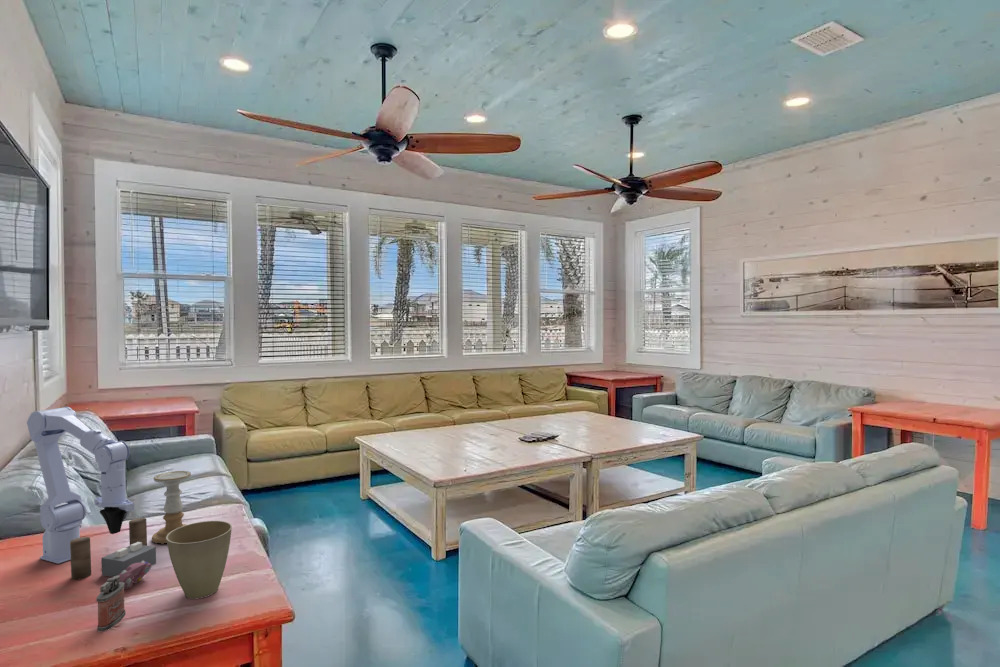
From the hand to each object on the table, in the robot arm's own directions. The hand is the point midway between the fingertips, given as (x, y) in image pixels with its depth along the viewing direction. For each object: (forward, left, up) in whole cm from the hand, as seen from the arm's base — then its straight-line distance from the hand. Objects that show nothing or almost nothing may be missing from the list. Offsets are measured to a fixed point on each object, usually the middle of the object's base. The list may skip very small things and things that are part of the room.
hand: (115, 532), depth 162 cm
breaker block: (+6, 0, -10) cm, 11 cm away
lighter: (+30, -20, -10) cm, 37 cm away
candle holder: (-4, +21, -10) cm, 23 cm away
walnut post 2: (-2, +8, -10) cm, 13 cm away
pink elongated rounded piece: (+16, -6, -10) cm, 20 cm away
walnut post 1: (-2, -8, -10) cm, 13 cm away
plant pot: (+37, -2, -10) cm, 38 cm away
